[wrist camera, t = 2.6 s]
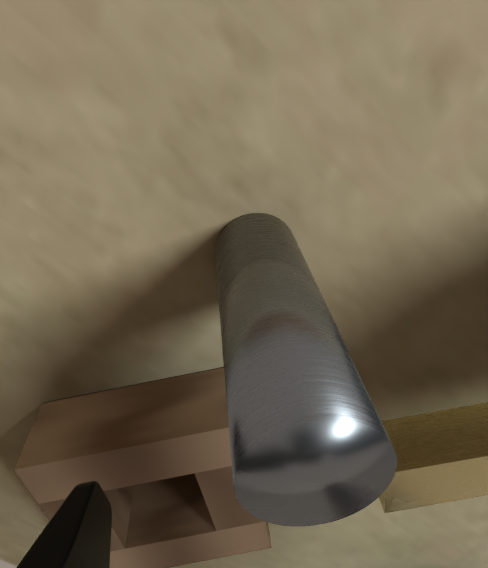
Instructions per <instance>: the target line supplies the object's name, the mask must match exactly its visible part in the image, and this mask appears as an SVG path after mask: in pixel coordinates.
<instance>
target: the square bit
mask: <svg viewBox="0 0 488 568" xmlns="http://www.w3.org/2000/svg"><path fill="white" fill-rule="evenodd" d="M382 424H383V426H384V428H385V430H386V432H387V434H388V436H389V438H390V440H391V443H392V445H393V447H394V449H395V452H396V456H397V467H396V472H395V475H394V477H393V479H392V481H391V483H390V484H389V486H388V487H387V489H386V490H385V491H384V492H383V493H382V494H381V495H380V496H379V499H380V502H381V504H382V507H383V509H384V512H385V513H388V512H394V511H399V510H405V509H411V508H417V507H422V506H428V505H434V504H439V503H445V502H451V501H456V500H462V499H468V498H474V497H479V496H485V495H488V403H482V404H477V405H471V406H465V407H460V408H454V409H448V410H443V411H437V412H431V413H426V414H420V415H414V416H409V417H403V418H397V419H392V420H386V421H382Z"/></svg>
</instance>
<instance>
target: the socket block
mask: <svg viewBox="0 0 488 568" xmlns="http://www.w3.org/2000/svg"><path fill="white" fill-rule="evenodd" d="M14 472H15V473H16V474H17V476H18V477H19V479H20V480H21V481H22V483H23V484H24V485H25V487H26V488H27V490H28V491H29V492H30V494H31V495H32V496H33V498H34V499H35V501H36V502H37V503H38V505H39V506H40V507H41V509H42V510H43V512H44V513H45V514H46V516H47V517H48V518H49V520H51V519H52V517H53V516H54V515H55V513H56V512H57V510H58V509H59V508H60V506H61V505H62V503H63V502H64V501H65V499H66V498H67V496H68V495H69V494H70V492H71V491H72V489H73V488H74V487H75V486H76V485H78V484H80V483H85V482H90V481H96V482H98V483H99V484H100V486H101V487H102V489H103V491H104V493H105V494H106V496H107V498H108V500H109V501H110V504H111V507H112V528H111V548H110V568H169V567H174V566H179V565H184V564H189V563H194V562H199V561H205V560H210V559H215V558H220V557H225V556H230V555H235V554H240V553H246V552H251V551H256V550H261V549H266V548H271V540H270V533H269V526H268V522H266V521H264V520H261V519H259V518H257V517H255V516H253V515H252V514H250V513H249V512H247V511H246V510H245V509H244V508H243V507H242V506H241V504H240V503H239V502H238V500H237V498H236V495H235V492H234V487H233V474H232V461H231V449H230V436H229V424H228V411H227V399H226V386H225V374H224V367H223V368H218V369H213V370H208V371H203V372H198V373H193V374H188V375H183V376H178V377H173V378H168V379H163V380H158V381H153V382H148V383H143V384H138V385H133V386H128V387H123V388H118V389H113V390H108V391H103V392H98V393H93V394H88V395H83V396H78V397H73V398H68V399H63V400H58V401H53V402H48V403H43V404H41V406H40V408H39V411H38V413H37V415H36V418H35V420H34V422H33V425H32V427H31V430H30V432H29V434H28V437H27V439H26V441H25V444H24V446H23V448H22V451H21V453H20V456H19V458H18V460H17V463H16V465H15V467H14Z"/></svg>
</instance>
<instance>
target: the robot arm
mask: <svg viewBox="0 0 488 568" xmlns="http://www.w3.org/2000/svg"><path fill="white" fill-rule="evenodd" d="M111 528H112V507H111V504H110V501H109V500H108V498H107V496H106V494H105V493H104V491H103V489H102V487H101V486H100V484H99V483H98V482H96V481H90V482H85V483H80V484H78V485H76V486H75V487H74V488H73V489H72V491H71V492H70V494H69V495H68V496H67V498H66V499H65V501H64V502H63V503H62V505H61V506H60V508H59V509H58V510H57V512H56V513H55V515H54V516H53V517H52V519H51V520H50V522H49V523H48V524H47V526H46V527H45V529H44V530H43V531H42V533H41V534H40V536H39V537H38V538H37V540H36V541H35V542H34V544H33V545H32V547H31V548H30V549H29V551H28V552H27V554H26V555H25V556H24V558H23V559H22V561H21V562H20V563H19V565H18V566H17V568H110V548H111Z"/></svg>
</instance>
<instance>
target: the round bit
mask: <svg viewBox="0 0 488 568" xmlns="http://www.w3.org/2000/svg"><path fill="white" fill-rule="evenodd" d="M215 261H216V273H217V286H218V298H219V311H220V324H221V336H222V349H223V361H224V374H225V386H226V399H227V411H228V424H229V436H230V449H231V461H232V474H233V487H234V492H235V495H236V498H237V500H238V502H239V503H240V504H241V506H242V507H243V508H244V509H245V510H246V511H247V512H249V513H250V514H252V515H253V516H255V517H257V518H259V519H261V520H264V521H266V522H270V523H273V524H278V525H284V526H311V525H318V524H324V523H328V522H332V521H336V520H339V519H342V518H344V517H347V516H349V515H352V514H354V513H356V512H358V511H360V510H361V509H363V508H365V507H366V506H368V505H369V504H371V503H372V502H373V501H375V500H376V499H377V498H378V497H379V496H380V495H381V494H382V493H383V492H384V491H385V490H386V489H387V487H388V486H389V484H390V483H391V481H392V479H393V477H394V475H395V472H396V467H397V456H396V452H395V449H394V447H393V445H392V443H391V440H390V438H389V436H388V434H387V432H386V430H385V428H384V426H383V424H382V421H381V419H380V417H379V415H378V413H377V411H376V409H375V407H374V405H373V402H372V400H371V398H370V396H369V394H368V392H367V390H366V388H365V386H364V383H363V381H362V379H361V377H360V375H359V373H358V371H357V369H356V367H355V364H354V362H353V360H352V358H351V356H350V354H349V352H348V350H347V348H346V345H345V343H344V341H343V339H342V337H341V335H340V333H339V331H338V329H337V326H336V324H335V322H334V320H333V318H332V316H331V314H330V312H329V309H328V307H327V305H326V303H325V301H324V299H323V297H322V295H321V293H320V290H319V288H318V286H317V284H316V282H315V280H314V278H313V276H312V274H311V271H310V269H309V267H308V265H307V263H306V261H305V259H304V257H303V255H302V252H301V250H300V248H299V246H298V244H297V242H296V240H295V238H294V236H293V234H292V232H291V230H290V229H289V227H288V226H287V225H286V224H285V223H284V222H283V221H281V220H280V219H278V218H277V217H274V216H272V215H269V214H264V213H252V214H247V215H243V216H241V217H238V218H236V219H235V220H233V221H232V222H230V223H229V224H228V225H227V226H226V227H225V228H224V229H223V230H222V232H221V233H220V235H219V237H218V239H217V242H216V246H215Z"/></svg>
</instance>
